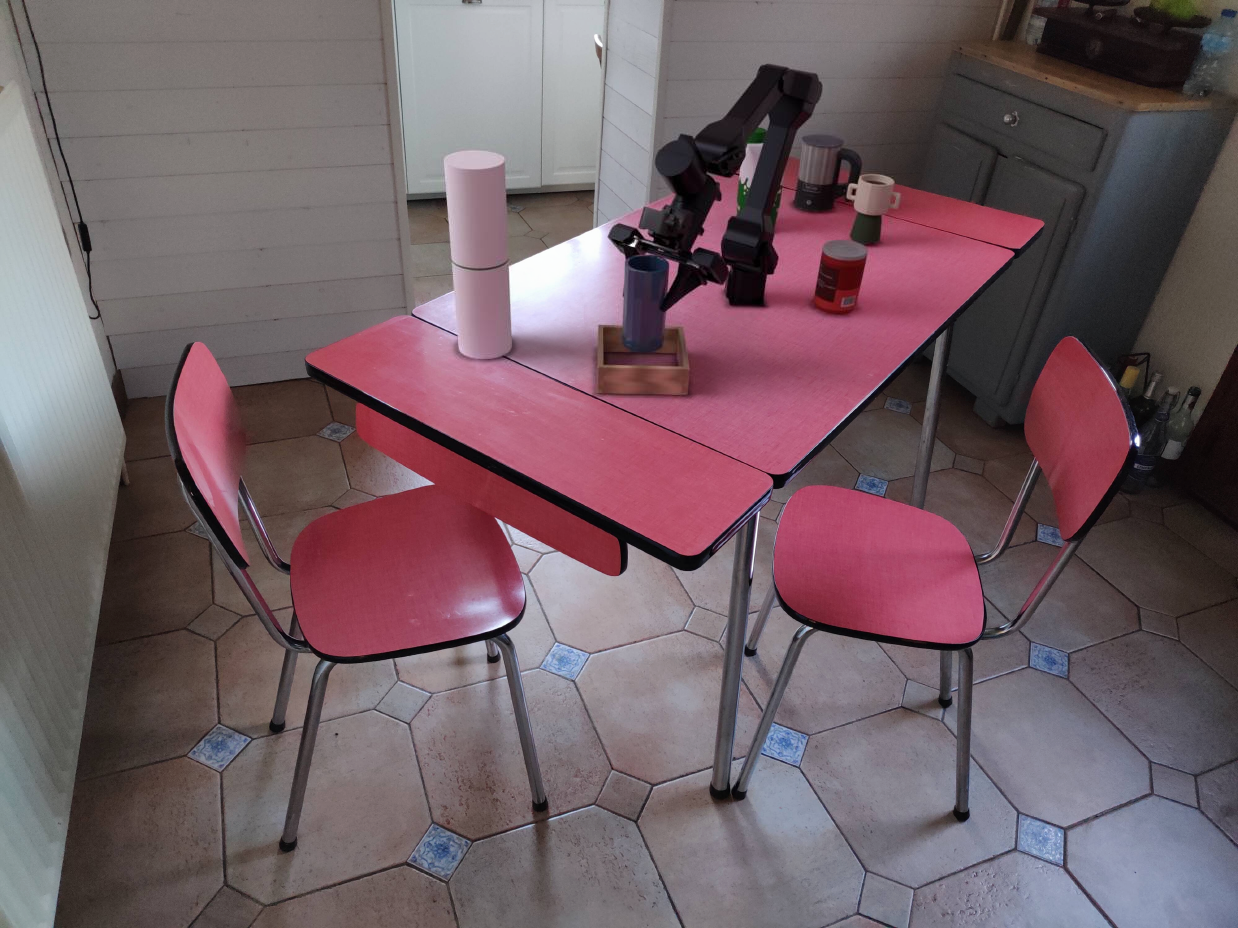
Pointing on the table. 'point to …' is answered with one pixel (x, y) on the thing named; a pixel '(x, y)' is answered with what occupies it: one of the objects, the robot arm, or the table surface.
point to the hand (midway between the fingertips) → (643, 304)
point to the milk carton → (748, 171)
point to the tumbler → (644, 303)
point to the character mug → (871, 206)
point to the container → (479, 251)
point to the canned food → (840, 276)
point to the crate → (642, 377)
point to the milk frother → (824, 172)
